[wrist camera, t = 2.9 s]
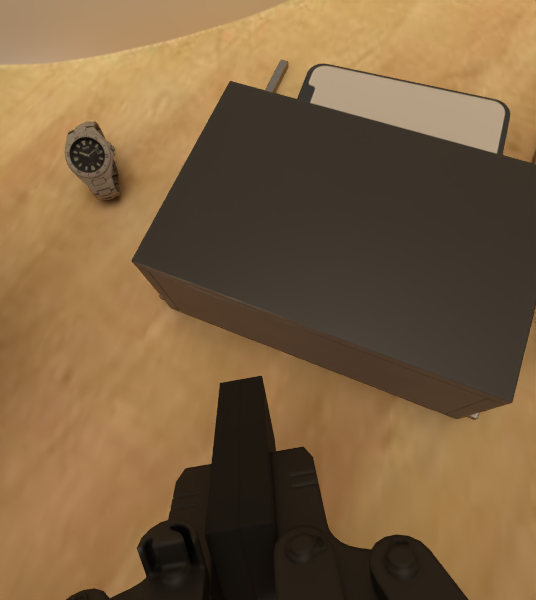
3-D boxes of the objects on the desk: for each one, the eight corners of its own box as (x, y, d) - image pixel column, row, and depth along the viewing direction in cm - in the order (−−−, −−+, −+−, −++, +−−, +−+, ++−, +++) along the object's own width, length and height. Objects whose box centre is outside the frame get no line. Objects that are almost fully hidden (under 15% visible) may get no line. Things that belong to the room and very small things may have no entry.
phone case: (505, 115, 36) (311, 73, 39) (514, 100, 35) (312, 57, 37) (485, 209, 34) (279, 158, 36) (495, 197, 32) (278, 144, 35)
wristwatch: (94, 212, 36) (63, 174, 31) (82, 151, 38) (50, 106, 33) (138, 199, 36) (113, 159, 31) (123, 138, 38) (97, 92, 33)
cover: (170, 308, 32) (130, 260, 25) (244, 160, 36) (229, 80, 29) (457, 419, 28) (512, 403, 21) (506, 240, 32) (568, 172, 25)
